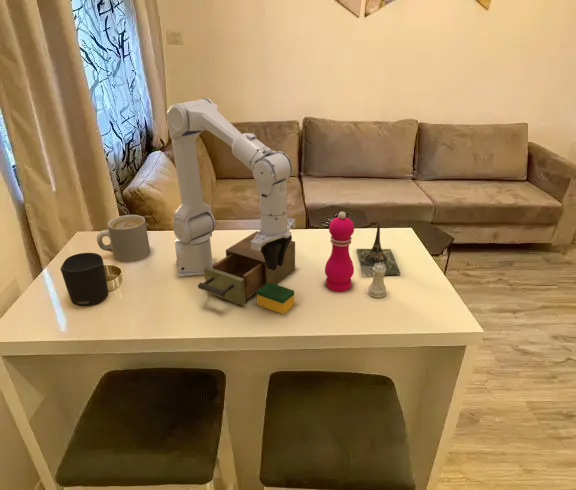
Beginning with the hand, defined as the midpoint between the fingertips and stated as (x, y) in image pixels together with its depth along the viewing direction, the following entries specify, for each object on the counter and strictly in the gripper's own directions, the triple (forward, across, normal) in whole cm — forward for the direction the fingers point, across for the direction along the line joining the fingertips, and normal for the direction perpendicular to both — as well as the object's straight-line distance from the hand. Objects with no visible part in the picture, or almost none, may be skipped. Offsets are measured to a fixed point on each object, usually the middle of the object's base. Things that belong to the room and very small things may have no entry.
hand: (274, 266), depth 110 cm
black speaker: (+11, -22, +40) cm, 47 cm away
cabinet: (+10, +10, +11) cm, 18 cm away
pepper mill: (+11, +16, -8) cm, 21 cm away
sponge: (+10, 0, 0) cm, 10 cm away
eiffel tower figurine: (+11, +32, -12) cm, 36 cm away
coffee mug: (+11, -1, +51) cm, 52 cm away
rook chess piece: (+11, +17, -18) cm, 27 cm away
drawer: (+10, -2, +11) cm, 15 cm away
